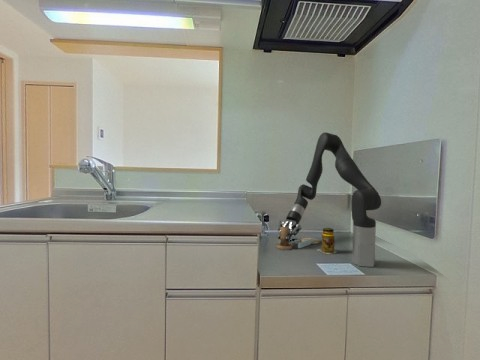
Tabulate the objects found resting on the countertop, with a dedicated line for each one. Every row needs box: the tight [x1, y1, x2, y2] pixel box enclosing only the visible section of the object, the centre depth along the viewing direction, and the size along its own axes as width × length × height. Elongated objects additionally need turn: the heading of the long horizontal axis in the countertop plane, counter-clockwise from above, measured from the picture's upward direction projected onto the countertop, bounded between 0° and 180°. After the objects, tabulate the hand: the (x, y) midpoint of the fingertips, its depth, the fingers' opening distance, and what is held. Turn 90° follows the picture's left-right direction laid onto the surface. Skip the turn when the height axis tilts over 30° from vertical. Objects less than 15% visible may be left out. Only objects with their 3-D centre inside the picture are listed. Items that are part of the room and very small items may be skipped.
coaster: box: [301, 237, 320, 245], centre depth 158 cm, size 10×10×1 cm
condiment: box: [316, 227, 338, 255], centre depth 140 cm, size 7×8×12 cm
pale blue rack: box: [289, 235, 313, 249], centre depth 155 cm, size 14×13×2 cm
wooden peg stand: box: [275, 226, 294, 251], centre depth 147 cm, size 9×9×11 cm
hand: (282, 239), depth 146 cm, fingers closed on wooden peg stand, 4 cm apart
